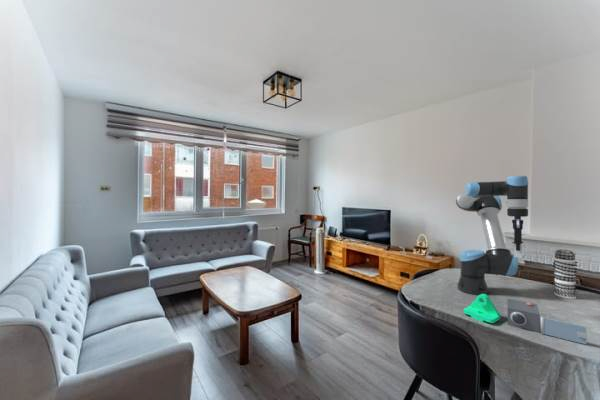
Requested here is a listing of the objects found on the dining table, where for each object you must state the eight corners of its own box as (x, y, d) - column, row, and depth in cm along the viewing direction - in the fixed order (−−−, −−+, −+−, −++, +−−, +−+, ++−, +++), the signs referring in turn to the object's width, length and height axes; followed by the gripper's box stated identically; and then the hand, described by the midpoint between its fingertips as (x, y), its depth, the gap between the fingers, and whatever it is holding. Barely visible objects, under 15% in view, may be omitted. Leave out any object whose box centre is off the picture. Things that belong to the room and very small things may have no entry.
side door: (540, 332, 100) (540, 316, 100) (586, 343, 92) (586, 326, 92) (540, 333, 99) (540, 317, 99) (587, 345, 91) (587, 327, 91)
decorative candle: (581, 300, 128) (580, 252, 128) (556, 297, 133) (555, 251, 133) (573, 294, 136) (573, 249, 136) (550, 291, 141) (550, 248, 141)
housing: (507, 326, 106) (507, 307, 106) (507, 314, 116) (507, 297, 116) (540, 334, 99) (540, 314, 99) (537, 320, 109) (537, 302, 109)
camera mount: (462, 314, 117) (462, 293, 117) (470, 310, 121) (470, 290, 121) (492, 326, 107) (492, 302, 106) (500, 321, 110) (500, 298, 110)
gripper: (507, 207, 125) (507, 253, 126) (507, 208, 116) (507, 258, 116) (527, 207, 121) (527, 255, 121) (528, 208, 111) (529, 260, 111)
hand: (518, 256), depth 118 cm, fingers closed
